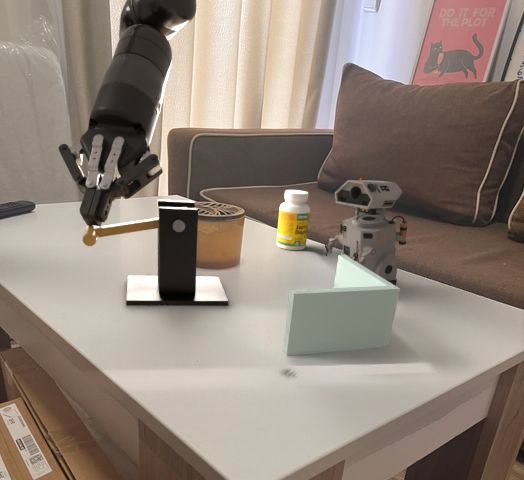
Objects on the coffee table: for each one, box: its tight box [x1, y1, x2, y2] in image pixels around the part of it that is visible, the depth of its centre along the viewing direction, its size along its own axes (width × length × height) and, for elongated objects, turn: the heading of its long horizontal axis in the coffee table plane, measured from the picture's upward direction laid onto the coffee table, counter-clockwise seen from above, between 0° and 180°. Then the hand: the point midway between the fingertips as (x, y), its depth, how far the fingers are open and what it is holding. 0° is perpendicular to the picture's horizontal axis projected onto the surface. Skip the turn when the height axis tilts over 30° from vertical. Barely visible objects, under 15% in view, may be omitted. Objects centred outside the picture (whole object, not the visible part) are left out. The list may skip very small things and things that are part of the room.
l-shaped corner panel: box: [282, 254, 401, 356], centre depth 59 cm, size 12×12×8 cm
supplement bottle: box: [276, 189, 311, 251], centre depth 92 cm, size 5×5×10 cm
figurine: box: [324, 177, 408, 287], centre depth 75 cm, size 9×12×15 cm
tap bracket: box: [125, 199, 230, 307], centre depth 64 cm, size 12×9×12 cm
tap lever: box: [82, 206, 187, 247], centre depth 61 cm, size 12×6×2 cm, turn 102°
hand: (91, 222), depth 60 cm, fingers closed
